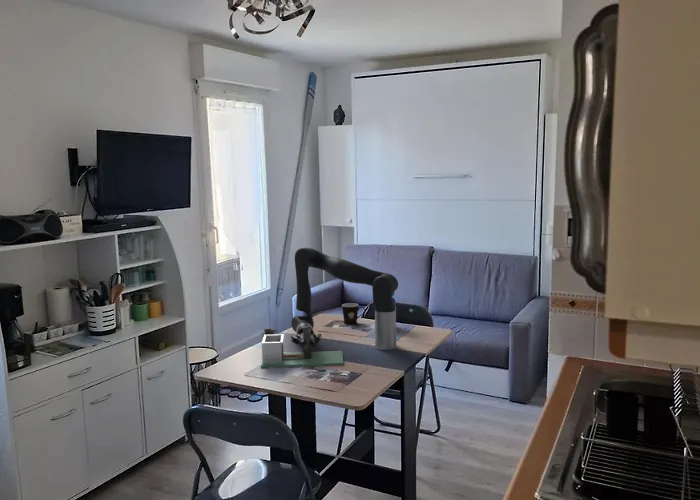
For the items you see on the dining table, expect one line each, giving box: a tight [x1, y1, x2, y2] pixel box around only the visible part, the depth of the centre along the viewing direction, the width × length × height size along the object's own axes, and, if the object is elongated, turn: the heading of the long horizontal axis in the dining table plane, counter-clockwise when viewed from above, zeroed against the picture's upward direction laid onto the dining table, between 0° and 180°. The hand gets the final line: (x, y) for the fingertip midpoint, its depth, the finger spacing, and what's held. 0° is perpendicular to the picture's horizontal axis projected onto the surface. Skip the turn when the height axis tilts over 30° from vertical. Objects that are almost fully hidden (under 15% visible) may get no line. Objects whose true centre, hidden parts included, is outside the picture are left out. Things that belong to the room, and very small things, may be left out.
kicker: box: [282, 326, 312, 358], centre depth 246 cm, size 15×5×13 cm, turn 93°
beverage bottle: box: [392, 291, 397, 326], centre depth 293 cm, size 8×8×20 cm
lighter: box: [261, 327, 277, 338], centre depth 261 cm, size 8×3×10 cm, turn 62°
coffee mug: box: [341, 302, 366, 326], centre depth 303 cm, size 12×9×10 cm
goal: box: [261, 333, 285, 364], centre depth 245 cm, size 8×12×9 cm
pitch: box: [260, 350, 345, 369], centre depth 247 cm, size 34×16×1 cm, turn 93°
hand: (307, 343), depth 243 cm, fingers closed on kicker, 3 cm apart
